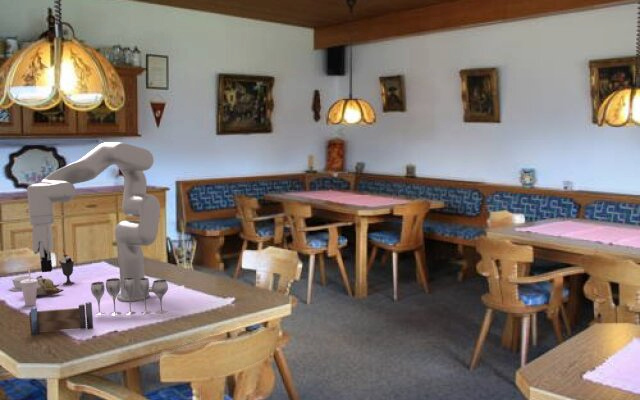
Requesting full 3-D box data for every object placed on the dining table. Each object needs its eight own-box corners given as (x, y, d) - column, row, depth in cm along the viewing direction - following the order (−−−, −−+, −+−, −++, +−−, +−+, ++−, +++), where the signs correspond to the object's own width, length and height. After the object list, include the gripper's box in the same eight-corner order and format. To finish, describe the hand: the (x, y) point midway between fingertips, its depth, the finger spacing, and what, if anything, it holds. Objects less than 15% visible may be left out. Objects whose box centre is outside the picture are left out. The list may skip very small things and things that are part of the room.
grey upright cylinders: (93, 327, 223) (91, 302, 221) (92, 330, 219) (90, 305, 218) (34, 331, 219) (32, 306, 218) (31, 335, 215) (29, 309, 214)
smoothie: (32, 307, 247) (29, 272, 245) (18, 306, 249) (15, 271, 247) (42, 302, 253) (40, 268, 252) (28, 302, 255) (25, 267, 253)
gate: (86, 326, 222) (85, 304, 221) (85, 328, 220) (84, 305, 219) (31, 331, 218) (29, 308, 217) (30, 333, 216) (28, 310, 215)
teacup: (18, 292, 269) (17, 282, 269) (5, 289, 275) (4, 279, 274) (40, 287, 278) (39, 276, 277) (26, 284, 283) (25, 274, 282)
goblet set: (90, 317, 234) (88, 281, 233) (95, 312, 240) (93, 277, 238) (167, 314, 236) (165, 279, 234) (170, 310, 241) (168, 275, 240)
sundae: (63, 282, 285) (60, 249, 283) (78, 281, 285) (76, 248, 284) (58, 286, 278) (55, 252, 276) (74, 285, 279) (71, 251, 277)
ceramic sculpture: (20, 274, 264) (58, 271, 272) (20, 295, 265) (58, 291, 273) (24, 280, 255) (64, 276, 263) (25, 301, 256) (64, 297, 264)
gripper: (35, 216, 226) (40, 267, 229) (25, 224, 212) (30, 277, 214) (57, 215, 227) (62, 265, 230) (49, 222, 213) (54, 276, 216)
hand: (47, 271), depth 222 cm, fingers closed
